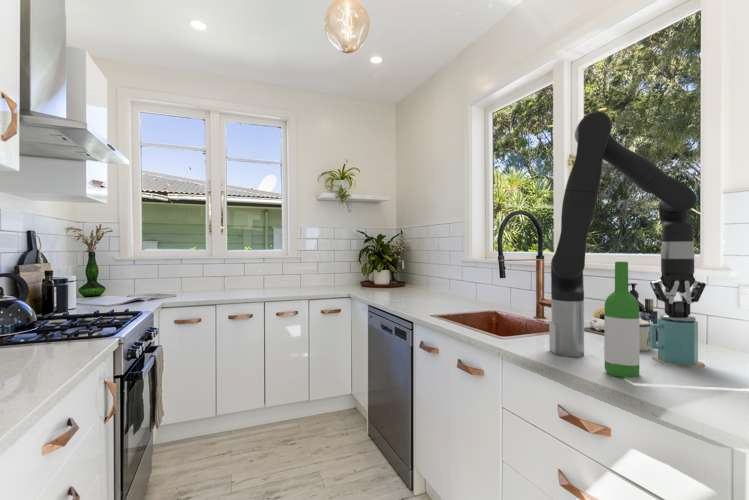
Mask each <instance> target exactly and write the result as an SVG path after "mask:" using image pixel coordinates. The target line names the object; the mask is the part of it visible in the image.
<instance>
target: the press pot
mask: <svg viewBox="0 0 749 500" xmlns="http://www.w3.org/2000/svg"><path fill="white" fill-rule="evenodd" d="M698 331H699V321H697V320H696V321H694V322H681V321H680V322H675V321H671V320H665V319H661V318H660V317H658V318H657V323H650V326H649V349H652V350H657V355H658V359H660V360H662V361H664V362H666V363H671V364H676V365H685V366H695V365H696V364H698V361H699V332H698Z"/></svg>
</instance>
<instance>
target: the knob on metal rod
mask: <svg viewBox="0 0 749 500" xmlns="http://www.w3.org/2000/svg"><path fill="white" fill-rule="evenodd" d="M672 304H674V316H673V317H670V316H667V314H665V313H662V314H661V313H660V314H659V318H661V319H665V320H671V321H675V322H680V321H681V322H694V321H697V320H696V317H695V316H690V315H689V316H688V317H685V302H684V301H681V300H674V301H673V303H672Z"/></svg>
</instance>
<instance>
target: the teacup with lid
mask: <svg viewBox="0 0 749 500" xmlns="http://www.w3.org/2000/svg"><path fill="white" fill-rule="evenodd" d="M650 324H651V323H650V322H649V321H647V320H644V319H642V318H641V317H639V347H640V351H649V350H650Z"/></svg>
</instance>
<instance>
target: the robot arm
mask: <svg viewBox="0 0 749 500" xmlns="http://www.w3.org/2000/svg"><path fill="white" fill-rule="evenodd" d="M612 129H613V123H612V120H611V117H610V116H609V115H608V114H607V113H605V112H603V111H594V112H593V111H592V112H591V113H588V114H587V115H585V116H584V117H582V119H580V121H579V123H578V124H577V127H576V128H575V131H574V139H575V141H576V143H577V147H576V154H575V159H574V161H573V165H572V168H571V171H570V172H569V176H568V179H567V183H566V184H565V189H564V194H563V198H562V206H561V215H560V216H561V217H560V218H561V221H560V223H561V224H560V227H561V228H560V234H559V235H560V236H559V239H558V242H557V246H556V250H555V253H554V255H553V256H552V258H551V262H550V263H551V264H550V270H551V271H550V275H551V276H550V277H551V282H550V283H551V284H550V287H551V290H550V291H551V293H550V295H551V297H550V298H551V303H550V304H551V305H550V306H551V310H550V311H551V320H550V321H549V325H548V326H549V329H548V330H549V331H548V333H549V336H548V337H549V342H548V343H549V345H548V346H549V351H550V352H551V353H553V355H556V356H562V357H569V358H581V357H584V356H585V291H584V269H585V266H586V265H585V264H586V248H587V240H588V234H589V232H590V228H591V224H592V222H593V218H594V215H595V210H596V207H597V201H598V196H599V191H600V185H601V184H600V183H601V179H602V178H601V177H602V176H601V175H602V168H603V167H602V165H603V160H604V161H605V162H607V163H608V164H609V165H611V166H612V167H614V168H615V169H617V170H618V171H619V173H621V174H623V175H624V176H625V177H626V178H627V179H629V180H630V181H631V182H632V184H634V185H635V186H637V187H638V188H639V189H640V190H642V191H643V192H644V193H646V194H652V195H653V196H655V197H656V198H658V207H657V209H658V215H659V218H660V223H661V227H662V228H661V247H660V272H661V276H660V278H659V280H655V281H650V282H649V285H650V287H651V289H652V291H653V293H654V296H655V297H656V300H657V301H661V302H662V303H664V314H667V316H670V317H673V316H674V304H672V303H673V301H675V297H676V296H677V293H678V295H679V296H680V301H684V302H685V317H688V316H690V315H691V304H693V303H698V302H699V301H700V299H701V297H702V294H703V292H704V291H705V288H706V285H707V284H706V283H705V282H701V281H698V280H696V278H695V277H694V274H695V246H694V227H693V224H692V223H691V222H690V221H689V220H688V211H690V210H692V209H693V208H695V206H696V205H697V203H698V197H697V194H696V192H695V191H694V190H693V189H692V188H691V187H689V186H688V185H687V184H685V183H683V182H681V181H680V180H677V178H674V177H672V176H670V175H668V174H667V173H665V172H664V171H663V170H662V169H661V168H660V167H658V166H657V165H656V164H655V163H654V162H653V161H651V160H650V159H648V158H646V157H644V156H643V155H641V154H639V153H637V152H635V151H633V150H631V149H629V148H627V147H626V146H624V145H622V144H621V143H620V142H619V141H617V140H616V139H615V138H614V137H613V136H612V134H611V132H612ZM663 286H664V291H663ZM691 288H692V289H691Z"/></svg>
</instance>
